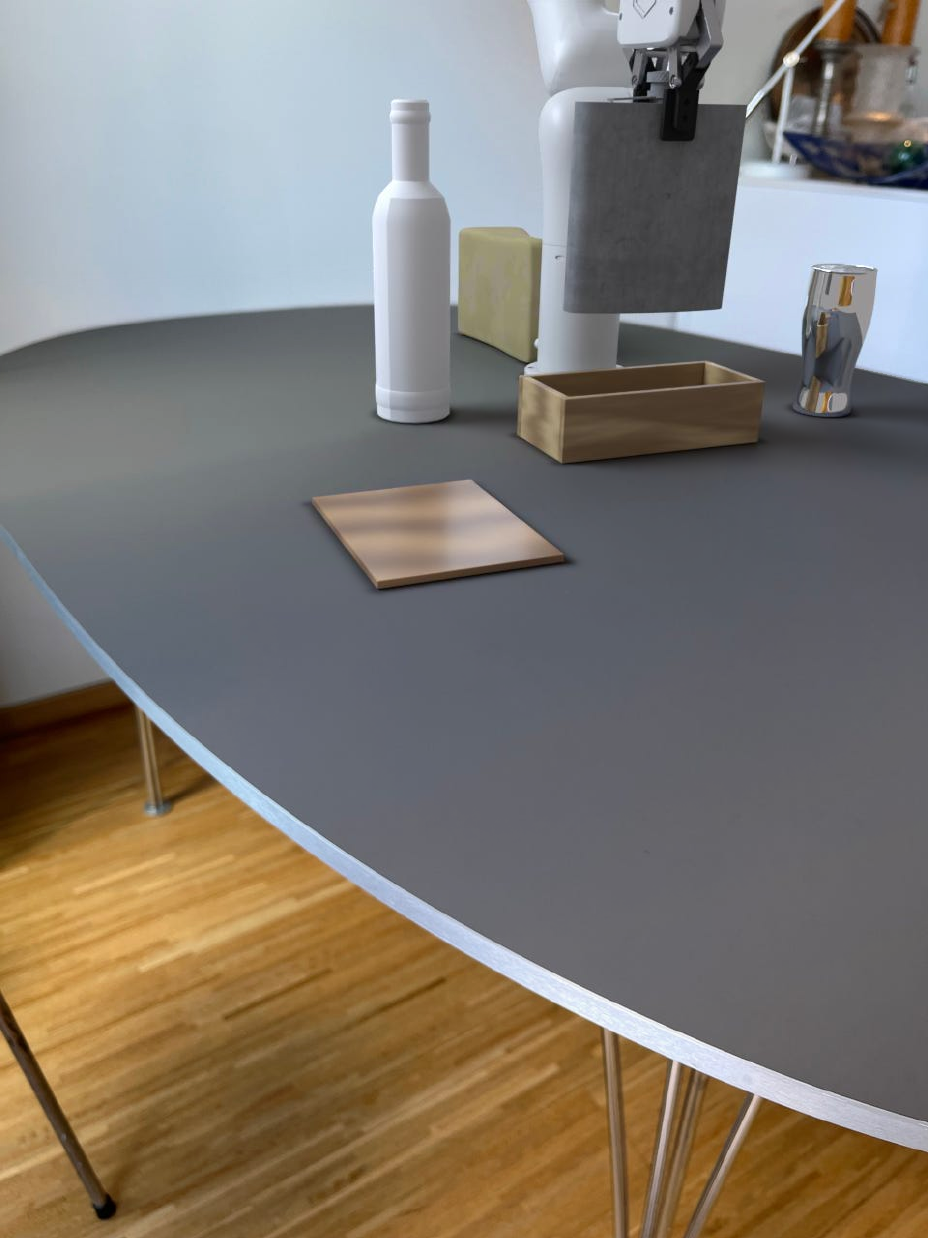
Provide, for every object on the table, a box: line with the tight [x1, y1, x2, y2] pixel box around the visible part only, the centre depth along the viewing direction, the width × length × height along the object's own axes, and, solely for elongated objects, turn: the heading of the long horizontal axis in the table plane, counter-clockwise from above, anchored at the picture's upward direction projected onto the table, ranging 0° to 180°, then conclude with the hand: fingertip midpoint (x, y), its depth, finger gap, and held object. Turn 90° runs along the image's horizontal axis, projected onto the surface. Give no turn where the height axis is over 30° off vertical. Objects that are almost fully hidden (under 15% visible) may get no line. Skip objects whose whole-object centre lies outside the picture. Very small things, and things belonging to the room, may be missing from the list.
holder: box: [516, 360, 767, 464], centre depth 101 cm, size 10×22×6 cm, turn 111°
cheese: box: [457, 226, 543, 364], centre depth 139 cm, size 22×10×15 cm, turn 14°
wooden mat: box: [311, 479, 565, 590], centre depth 79 cm, size 18×14×1 cm
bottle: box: [371, 98, 452, 424], centre depth 104 cm, size 8×8×30 cm
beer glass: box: [792, 263, 879, 418], centre depth 110 cm, size 7×7×15 cm
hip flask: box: [563, 71, 749, 315], centre depth 93 cm, size 16×4×20 cm, turn 103°
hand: (661, 137), depth 91 cm, fingers closed on hip flask, 4 cm apart
